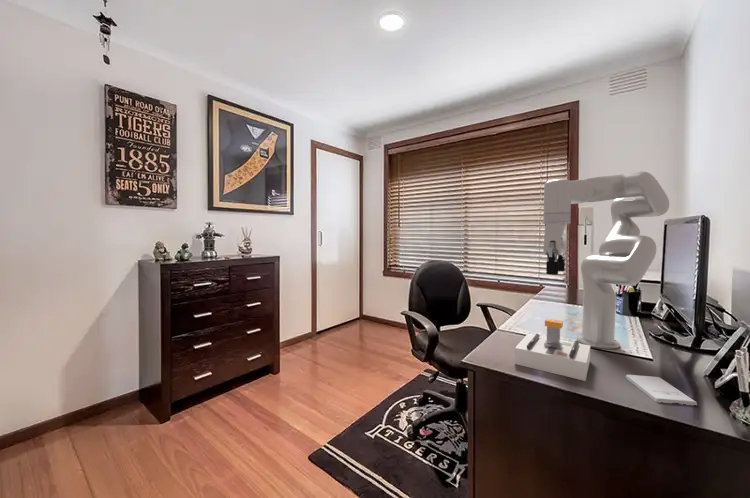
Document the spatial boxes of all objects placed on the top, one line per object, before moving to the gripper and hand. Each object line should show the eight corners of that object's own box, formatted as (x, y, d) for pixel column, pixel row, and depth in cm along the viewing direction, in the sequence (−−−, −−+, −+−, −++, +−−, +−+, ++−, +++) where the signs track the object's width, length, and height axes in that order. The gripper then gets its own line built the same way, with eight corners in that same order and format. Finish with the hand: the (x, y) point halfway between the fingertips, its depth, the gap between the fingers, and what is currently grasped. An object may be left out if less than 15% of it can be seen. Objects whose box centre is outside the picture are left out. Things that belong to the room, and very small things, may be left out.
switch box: (526, 348, 109) (527, 330, 108) (589, 361, 98) (590, 341, 97) (514, 363, 96) (515, 343, 96) (585, 380, 85) (586, 358, 85)
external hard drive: (659, 382, 85) (696, 408, 73) (625, 380, 87) (656, 404, 75) (660, 376, 85) (697, 401, 73) (625, 374, 87) (656, 397, 74)
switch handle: (546, 342, 99) (546, 318, 99) (562, 345, 97) (563, 320, 96) (544, 345, 96) (544, 321, 96) (560, 349, 94) (561, 323, 93)
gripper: (549, 220, 109) (548, 268, 111) (536, 219, 96) (535, 274, 97) (575, 219, 105) (573, 270, 106) (565, 218, 92) (563, 277, 93)
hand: (555, 272), depth 102 cm, fingers open, 9 cm apart
